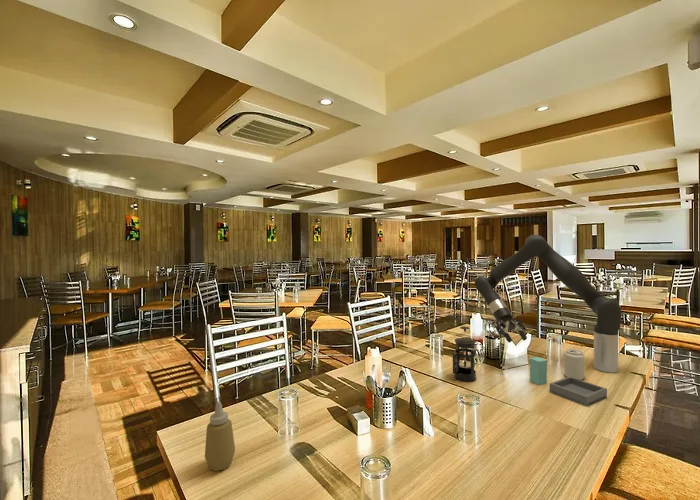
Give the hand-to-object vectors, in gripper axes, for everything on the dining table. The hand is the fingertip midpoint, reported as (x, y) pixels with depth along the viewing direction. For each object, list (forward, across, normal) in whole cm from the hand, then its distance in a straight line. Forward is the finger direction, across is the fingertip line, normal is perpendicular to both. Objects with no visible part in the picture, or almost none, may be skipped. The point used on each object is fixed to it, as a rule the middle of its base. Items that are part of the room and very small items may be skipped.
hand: (518, 340), depth 159 cm
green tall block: (+18, 0, +2) cm, 19 cm away
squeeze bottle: (+27, -128, -6) cm, 131 cm away
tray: (+29, +4, -8) cm, 30 cm away
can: (+20, +18, +1) cm, 27 cm away
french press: (+8, -27, +13) cm, 31 cm away
